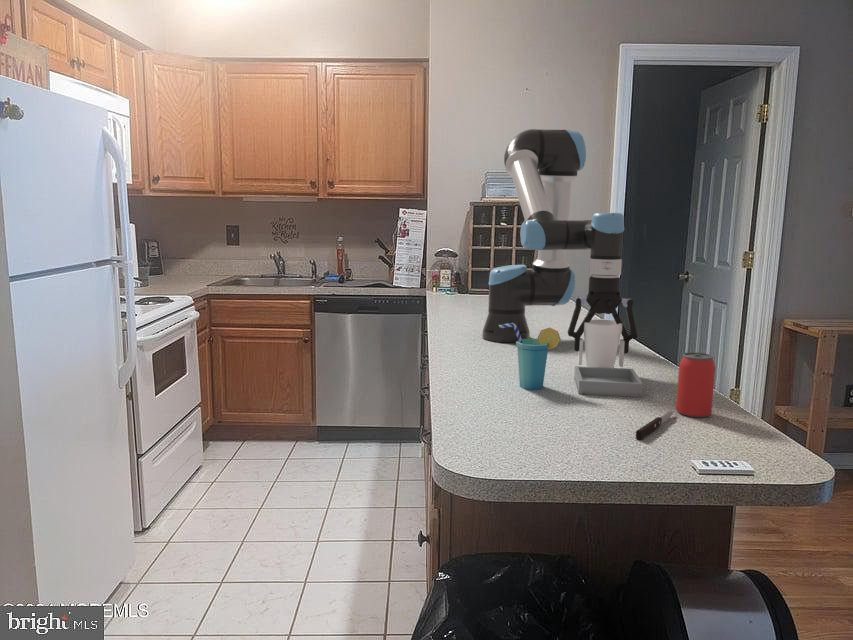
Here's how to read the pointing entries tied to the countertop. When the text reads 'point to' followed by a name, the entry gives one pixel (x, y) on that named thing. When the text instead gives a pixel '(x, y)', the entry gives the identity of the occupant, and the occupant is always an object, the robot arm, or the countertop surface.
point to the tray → (608, 381)
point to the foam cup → (601, 342)
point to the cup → (534, 356)
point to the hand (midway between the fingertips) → (600, 364)
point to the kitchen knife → (652, 426)
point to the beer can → (695, 384)
